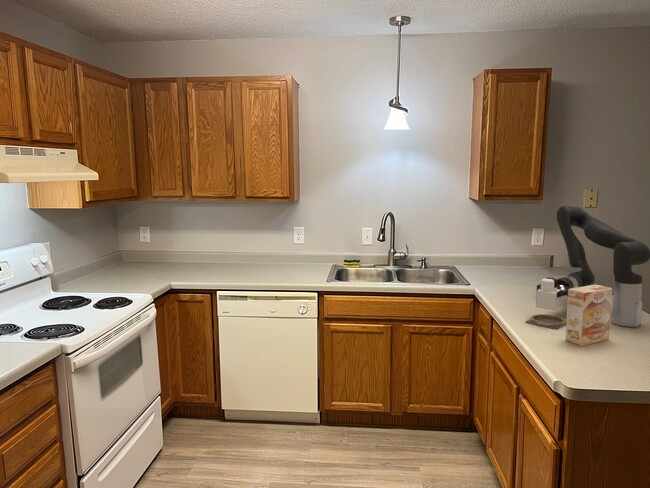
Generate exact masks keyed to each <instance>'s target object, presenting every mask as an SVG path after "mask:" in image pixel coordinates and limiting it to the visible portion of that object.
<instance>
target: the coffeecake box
mask: <svg viewBox="0 0 650 488" xmlns="http://www.w3.org/2000/svg"><path fill="white" fill-rule="evenodd" d="M613 290H614V287H609V286H604V285H599V284H592V285H589V286H584V287H578V288H571V289H568V297H567V307H566V319H565V320H566V325H565V341H567V342H570V343H573V344H576V345H577V346H579V347H580V346H581V347H582V346H587V345H592V344H595V343H599V342H603V341H607V340H610V332H611V331H610V330H611V329H610V327H611V318H612V317H611V313H612V301H613V299H612V298H613Z"/></svg>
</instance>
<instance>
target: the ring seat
mask: <svg viewBox="0 0 650 488" xmlns="http://www.w3.org/2000/svg"><path fill="white" fill-rule="evenodd" d="M566 320H567V319H566V318H563V317H562V316H557V315H554V314H553V315H552V314H546V313H545V314H534V315H532V316H530V319H527V320H525V323H526V324H529V325H533V326H537V327H543V328H548V329H552V330H559V329H561V328H563V327H566Z"/></svg>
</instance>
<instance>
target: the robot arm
mask: <svg viewBox="0 0 650 488" xmlns="http://www.w3.org/2000/svg"><path fill="white" fill-rule="evenodd" d="M556 222H557V225H558V228H559V230H560V232H561V235H562V239H563V241H564V243H565V248H566V251H567V256H568V262H569V266H570V267H571V268H573V269H581V270H579V271H576V272H572V273H569V274H568V275H566V276H561V277H559V278H556V279H557V281H558V283H557V289H559V290H561V291H558V292H557V297H558V298H559V297H561V298H562V297H567V298H568V289H571V288H578V287H584V286H590V285H594V283H595V279H596V277H595V275H594V273H593V270H592V269H591V267H590V266H589V263H588V260H587V257H586V256H587V255H586V251H585V248H584V245H583V243H581V241H580V240H579V238H578V237H577V235H576V234H575V233H574V230H573V228H572V227H576V228H579V229H581V230H582V231H583V232H584V233H583V234H584V236H585V237H586V238H587V239H588V240H589V241H591V242H593V244H596V245H597V246H600V247H603V248H606V249H611V250H613V259H612V260H613V261H612V262H613V264H612V265H613V268H612V271H613V275H614V287H613V299H612V301H613V303H612V317H611V323H613V324H615V325H617V326H621V327H628V328H630V327H631V328H638V327H639V326H640V324H641V325H642V315H643V300H642V289H643V287H642V286H643V276H642V275H641V274H639V273H636V272H634V271H633V270H632V266H638V265H639V266H640V265H644V264H646V263H648V262H649V261H650V249H649V247H648V245H647V244H646V243H644V242H642V241H640V240H638V239H635V238H633V237H630V236H628V235H626V234H624V233H623V232H621V231H619V230H618V229H615V228H613V227H612V226H610V225H609V224H607V223H605V222H603V221H601V220H600V219H597V218H596V217H594V216H592V215H591V214H590V213H588V212H587V211H586V210H584V209H583V208H581V207H578V206H570V205H562V206H560V207H559V208H558V209H557V211H556ZM539 289H541V283H540V284H539V283H538V284H537V285H536V293H537V290H539Z"/></svg>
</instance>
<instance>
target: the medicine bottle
mask: <svg viewBox="0 0 650 488" xmlns="http://www.w3.org/2000/svg"><path fill="white" fill-rule="evenodd" d="M557 279H558V278H554V277H543V278H541V279H540V284H541V289H539V290H537V289H536V290H537V292H536V297H535V298H536V301H535V304H536V305H535V307H536V308H538V309H544V310H549V311H550V310H551V311H555V310H556V309H558V308H559V307H561V300H562V299H561V298H562V296H561V297H559V298H558V297H557V292H558V291H561V290H559V289H557V283H558V281H557Z"/></svg>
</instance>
